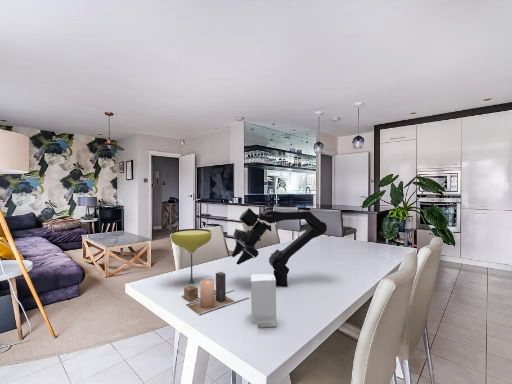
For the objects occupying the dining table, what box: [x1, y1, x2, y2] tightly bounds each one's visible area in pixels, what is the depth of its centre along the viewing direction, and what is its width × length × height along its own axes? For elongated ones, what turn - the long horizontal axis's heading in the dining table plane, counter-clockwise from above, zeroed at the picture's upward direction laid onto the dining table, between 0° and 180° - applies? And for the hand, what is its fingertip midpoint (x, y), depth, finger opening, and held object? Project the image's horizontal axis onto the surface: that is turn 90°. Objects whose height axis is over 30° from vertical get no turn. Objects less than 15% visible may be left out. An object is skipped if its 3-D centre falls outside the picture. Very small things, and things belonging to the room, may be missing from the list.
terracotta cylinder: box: [199, 278, 215, 308], centre depth 98 cm, size 5×5×9 cm
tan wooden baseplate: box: [187, 271, 236, 315], centre depth 99 cm, size 16×8×12 cm, turn 130°
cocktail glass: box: [170, 228, 212, 285], centre depth 121 cm, size 18×18×25 cm
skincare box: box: [250, 273, 277, 328], centre depth 88 cm, size 8×7×16 cm
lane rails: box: [185, 289, 250, 317], centre depth 101 cm, size 22×11×1 cm, turn 130°
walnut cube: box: [183, 284, 199, 302], centre depth 105 cm, size 4×4×4 cm
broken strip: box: [180, 289, 216, 304], centre depth 107 cm, size 14×8×1 cm, turn 130°
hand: (234, 260), depth 118 cm, fingers open, 9 cm apart
